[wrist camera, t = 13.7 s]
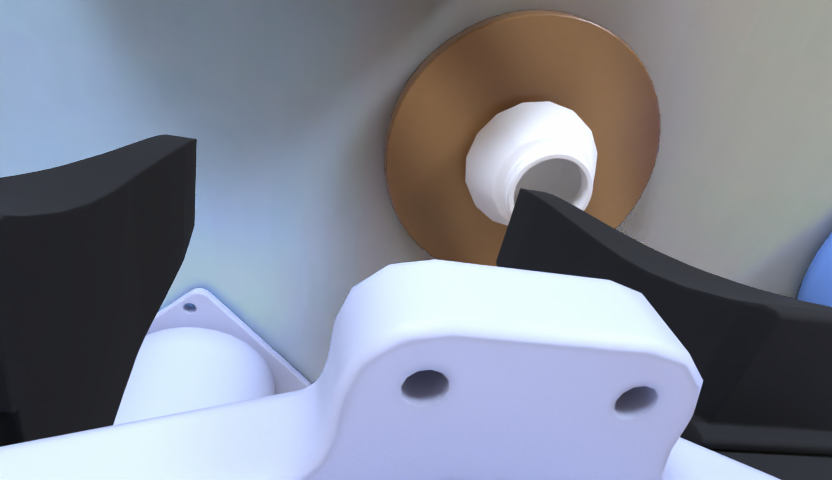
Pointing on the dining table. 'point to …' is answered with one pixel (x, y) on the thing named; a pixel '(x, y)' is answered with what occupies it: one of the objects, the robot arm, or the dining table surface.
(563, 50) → the trivet
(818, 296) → the water jug
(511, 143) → the lidless jar
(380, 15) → the dining table surface
